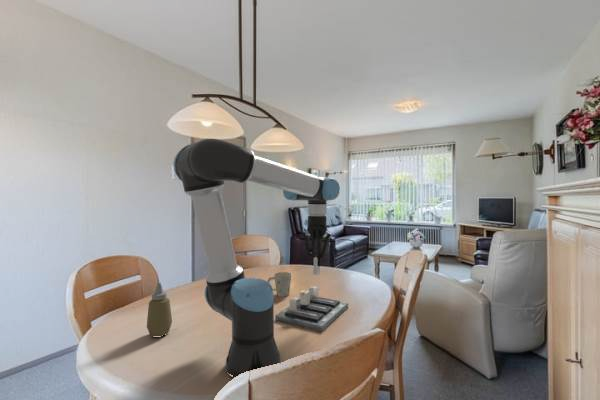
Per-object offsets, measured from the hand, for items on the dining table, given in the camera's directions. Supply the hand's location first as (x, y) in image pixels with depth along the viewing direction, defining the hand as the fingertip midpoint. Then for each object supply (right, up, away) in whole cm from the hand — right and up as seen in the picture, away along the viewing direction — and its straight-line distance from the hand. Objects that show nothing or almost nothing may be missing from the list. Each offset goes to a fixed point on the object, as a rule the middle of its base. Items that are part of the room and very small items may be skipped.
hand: (316, 273), depth 117 cm
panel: (-1, -17, +1) cm, 17 cm away
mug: (-17, -17, +26) cm, 35 cm away
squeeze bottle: (-56, -18, -15) cm, 61 cm away
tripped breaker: (-5, -13, +4) cm, 14 cm away
